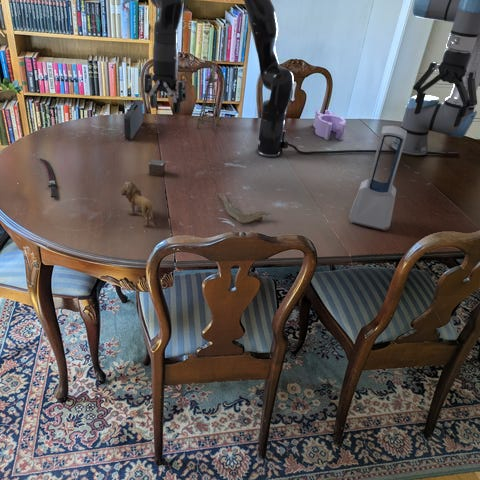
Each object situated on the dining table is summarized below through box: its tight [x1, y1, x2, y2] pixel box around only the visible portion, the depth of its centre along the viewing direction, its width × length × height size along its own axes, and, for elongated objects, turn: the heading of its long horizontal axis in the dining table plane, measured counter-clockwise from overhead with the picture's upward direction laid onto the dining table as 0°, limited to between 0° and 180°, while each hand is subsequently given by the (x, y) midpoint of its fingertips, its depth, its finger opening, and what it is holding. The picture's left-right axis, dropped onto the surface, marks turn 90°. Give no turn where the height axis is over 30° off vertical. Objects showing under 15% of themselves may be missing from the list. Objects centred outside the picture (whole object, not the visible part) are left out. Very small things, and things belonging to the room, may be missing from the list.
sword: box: [40, 158, 59, 198], centre depth 151 cm, size 31×3×1 cm, turn 26°
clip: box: [313, 109, 347, 141], centre depth 212 cm, size 20×12×7 cm, turn 11°
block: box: [148, 158, 166, 178], centre depth 160 cm, size 4×4×4 cm
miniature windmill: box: [196, 55, 220, 132], centre depth 197 cm, size 9×8×30 cm
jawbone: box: [218, 193, 271, 225], centre depth 143 cm, size 9×20×2 cm, turn 50°
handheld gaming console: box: [123, 99, 144, 141], centre depth 190 cm, size 23×3×10 cm, turn 178°
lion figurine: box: [119, 181, 159, 227], centre depth 134 cm, size 15×5×9 cm, turn 50°
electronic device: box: [348, 125, 407, 232], centre depth 137 cm, size 12×8×30 cm, turn 71°
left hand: (164, 110), depth 150 cm, fingers open, 8 cm apart
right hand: (436, 119), depth 151 cm, fingers open, 13 cm apart
